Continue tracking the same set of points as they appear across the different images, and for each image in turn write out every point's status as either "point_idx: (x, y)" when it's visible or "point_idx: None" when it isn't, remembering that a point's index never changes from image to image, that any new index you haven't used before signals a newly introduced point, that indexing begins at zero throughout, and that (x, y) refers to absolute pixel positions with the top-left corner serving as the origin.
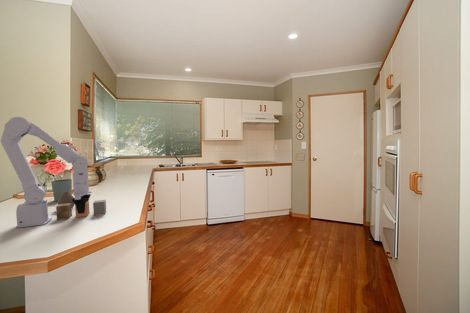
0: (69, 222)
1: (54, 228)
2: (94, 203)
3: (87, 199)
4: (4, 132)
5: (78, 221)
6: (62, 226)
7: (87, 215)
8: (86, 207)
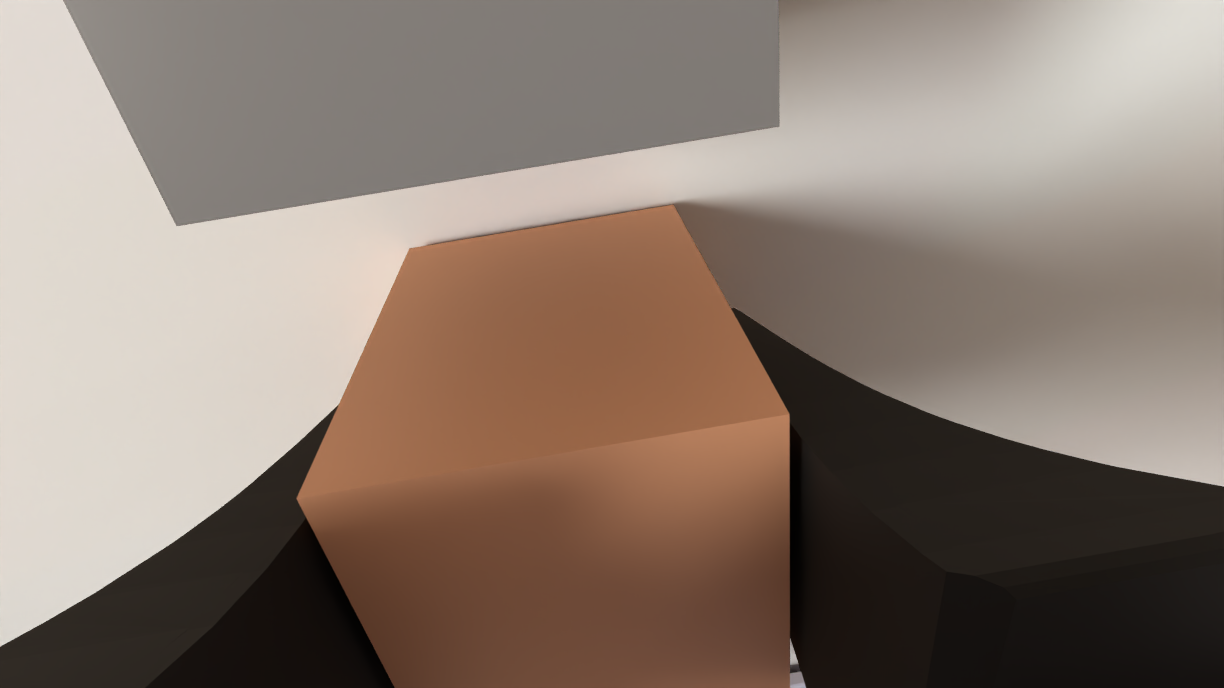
0: (996, 386)
1: (1217, 461)
2: (758, 44)
3: (273, 606)
4: None
5: (1032, 243)
6: (1191, 395)
7: (662, 209)
8: (736, 323)
